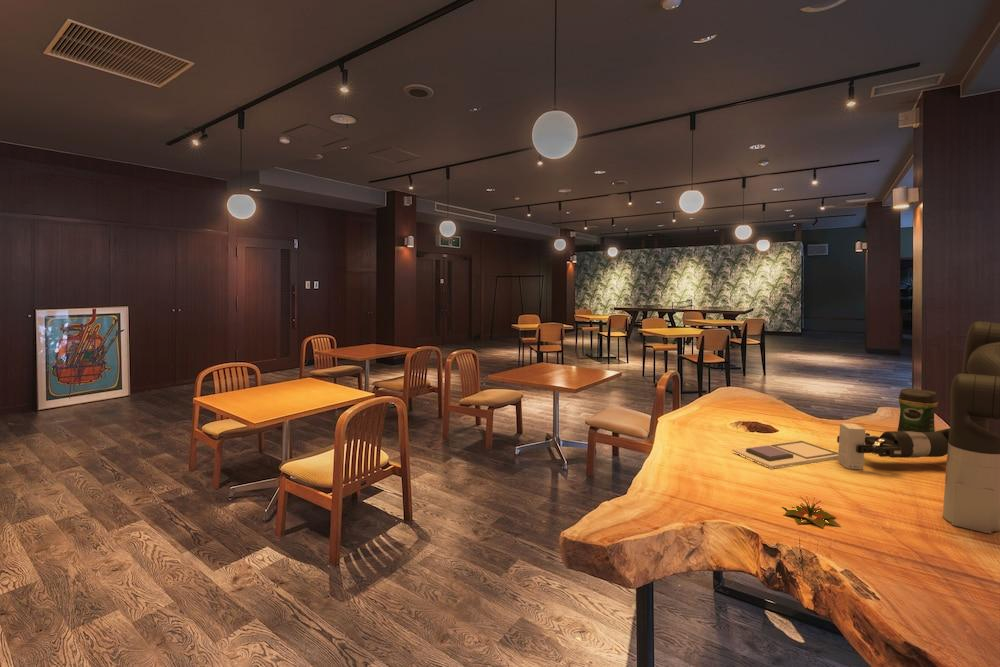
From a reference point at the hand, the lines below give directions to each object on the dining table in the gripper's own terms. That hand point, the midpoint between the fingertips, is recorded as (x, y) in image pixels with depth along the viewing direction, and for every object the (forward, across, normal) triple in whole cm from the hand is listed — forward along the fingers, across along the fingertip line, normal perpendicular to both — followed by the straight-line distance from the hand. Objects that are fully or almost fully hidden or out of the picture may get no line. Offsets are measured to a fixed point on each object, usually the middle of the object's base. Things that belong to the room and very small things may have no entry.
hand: (847, 444), depth 143 cm
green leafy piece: (+28, +32, +7) cm, 44 cm away
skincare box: (-1, 0, +7) cm, 7 cm away
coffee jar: (-34, -19, +7) cm, 40 cm away
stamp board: (+12, -9, +6) cm, 16 cm away
